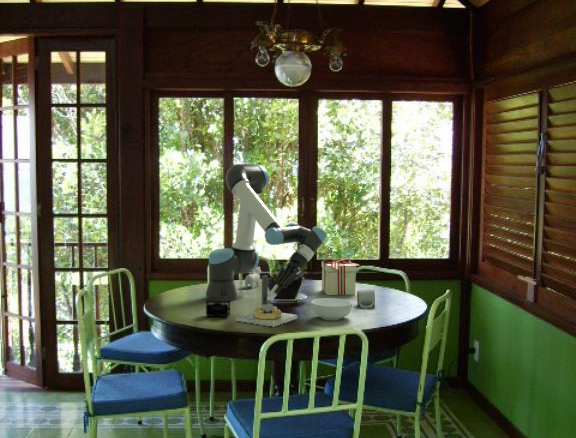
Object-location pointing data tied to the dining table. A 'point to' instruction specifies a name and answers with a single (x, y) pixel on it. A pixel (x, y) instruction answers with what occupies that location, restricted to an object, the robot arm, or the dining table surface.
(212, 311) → the end cap
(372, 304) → the ceramic mug
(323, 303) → the cereal bowl
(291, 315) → the housing
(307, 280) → the dining table surface
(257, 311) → the gold and grey piece
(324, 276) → the gift box
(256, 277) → the dog figurine
